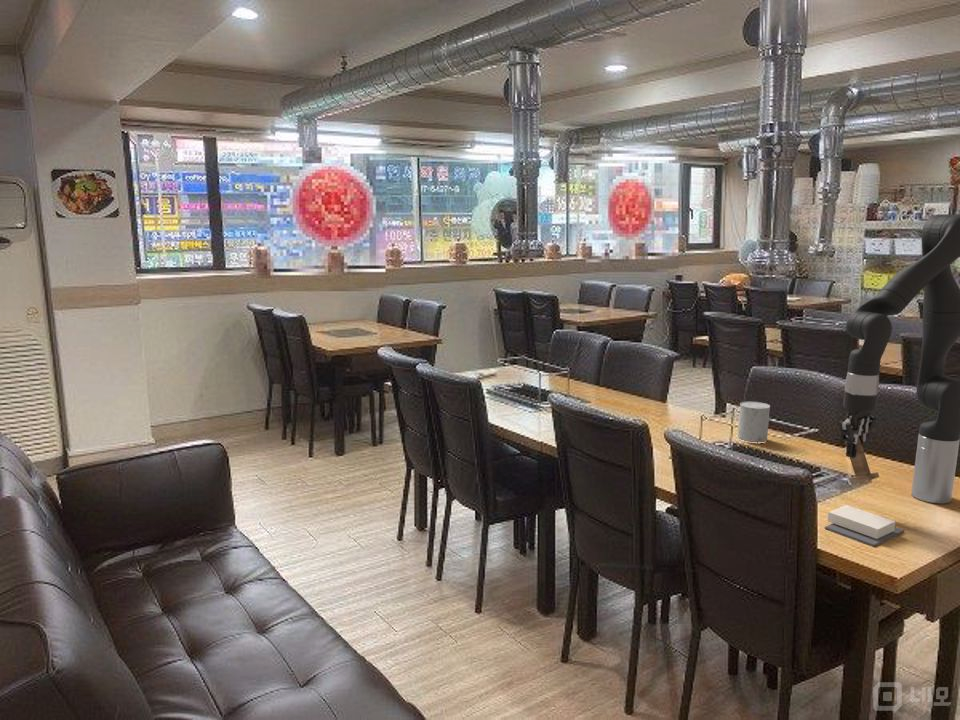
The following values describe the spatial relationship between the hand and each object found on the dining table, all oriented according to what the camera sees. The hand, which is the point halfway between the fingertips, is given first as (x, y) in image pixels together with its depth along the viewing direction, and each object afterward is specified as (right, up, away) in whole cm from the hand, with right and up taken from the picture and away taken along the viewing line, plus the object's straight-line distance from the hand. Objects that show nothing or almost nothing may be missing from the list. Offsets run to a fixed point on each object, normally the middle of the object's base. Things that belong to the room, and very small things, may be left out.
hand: (853, 455), depth 184 cm
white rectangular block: (-7, -13, -6) cm, 17 cm away
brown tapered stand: (+2, -6, -2) cm, 6 cm away
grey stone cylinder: (-3, -3, +60) cm, 60 cm away
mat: (-3, -17, -11) cm, 20 cm away
